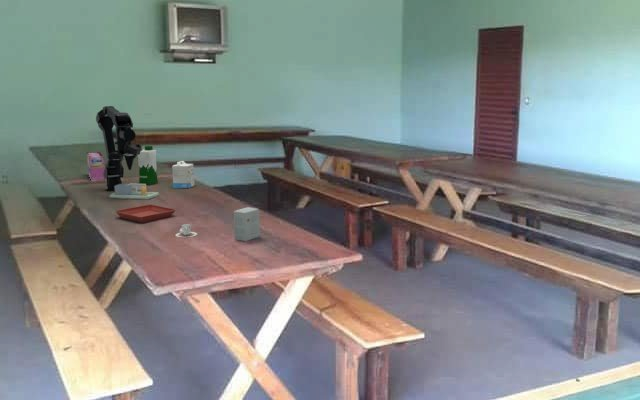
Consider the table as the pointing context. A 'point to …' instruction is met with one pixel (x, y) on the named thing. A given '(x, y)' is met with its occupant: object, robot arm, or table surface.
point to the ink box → (183, 175)
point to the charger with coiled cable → (185, 231)
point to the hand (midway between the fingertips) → (124, 171)
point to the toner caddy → (129, 190)
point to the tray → (150, 196)
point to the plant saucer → (145, 213)
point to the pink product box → (95, 166)
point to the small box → (246, 224)
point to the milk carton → (147, 166)
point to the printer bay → (136, 187)
